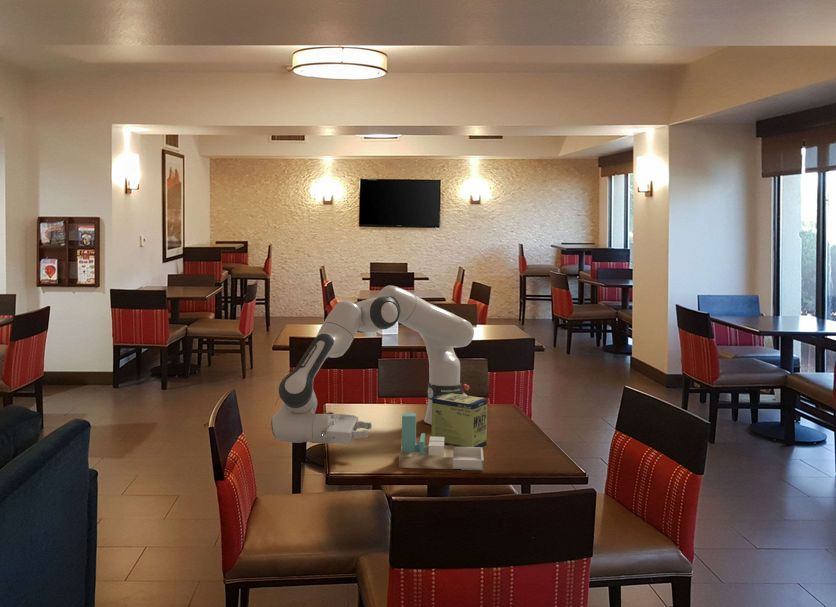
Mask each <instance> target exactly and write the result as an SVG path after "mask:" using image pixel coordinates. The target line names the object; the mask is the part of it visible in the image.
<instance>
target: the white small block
mask: <svg viewBox="0 0 836 607" xmlns="http://www.w3.org/2000/svg"><path fill="white" fill-rule="evenodd" d="M428 445H429V456H444V442H428Z"/></svg>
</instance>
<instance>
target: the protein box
mask: <svg viewBox="0 0 836 607" xmlns="http://www.w3.org/2000/svg"><path fill="white" fill-rule="evenodd" d="M466 395H467V394H466ZM466 395H459V394H453V393H447V394H444V395H441V396H438V397H435V398H432V425H431V435H430V437H445V438H444V445H453V447H482V448H483V447H484V446H487V437H488V435H487V432H488V431H487V430H488V397H487V398H486V397H478V396H472V395H467V396H466Z"/></svg>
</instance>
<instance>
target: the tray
mask: <svg viewBox="0 0 836 607" xmlns="http://www.w3.org/2000/svg"><path fill="white" fill-rule="evenodd" d="M483 448H484V447H483V446H482V447H453V469H461V470H460V471H485V470H484V467H485V466H484V464H485V463H484V462H485V460H484V450H483ZM453 469H452V470H453Z"/></svg>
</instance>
